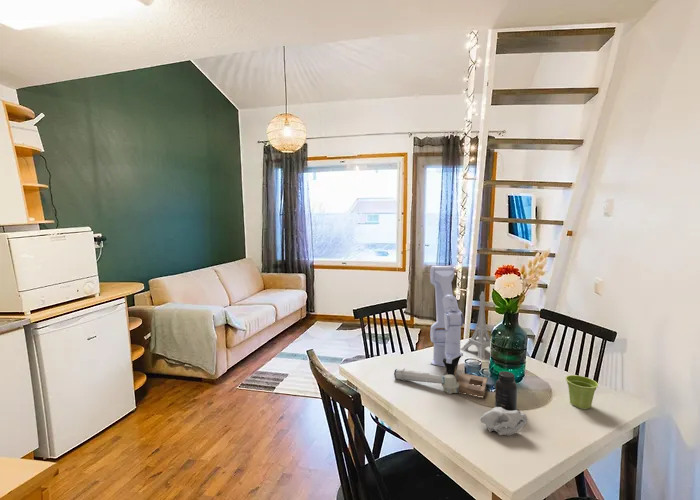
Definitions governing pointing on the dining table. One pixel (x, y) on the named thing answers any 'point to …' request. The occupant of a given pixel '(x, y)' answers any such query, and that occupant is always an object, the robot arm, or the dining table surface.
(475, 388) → the socket block
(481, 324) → the eiffel tower
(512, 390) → the supplement bottle
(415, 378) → the gray mallet
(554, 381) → the dining table surface
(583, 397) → the plant pot
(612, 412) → the dining table surface
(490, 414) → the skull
